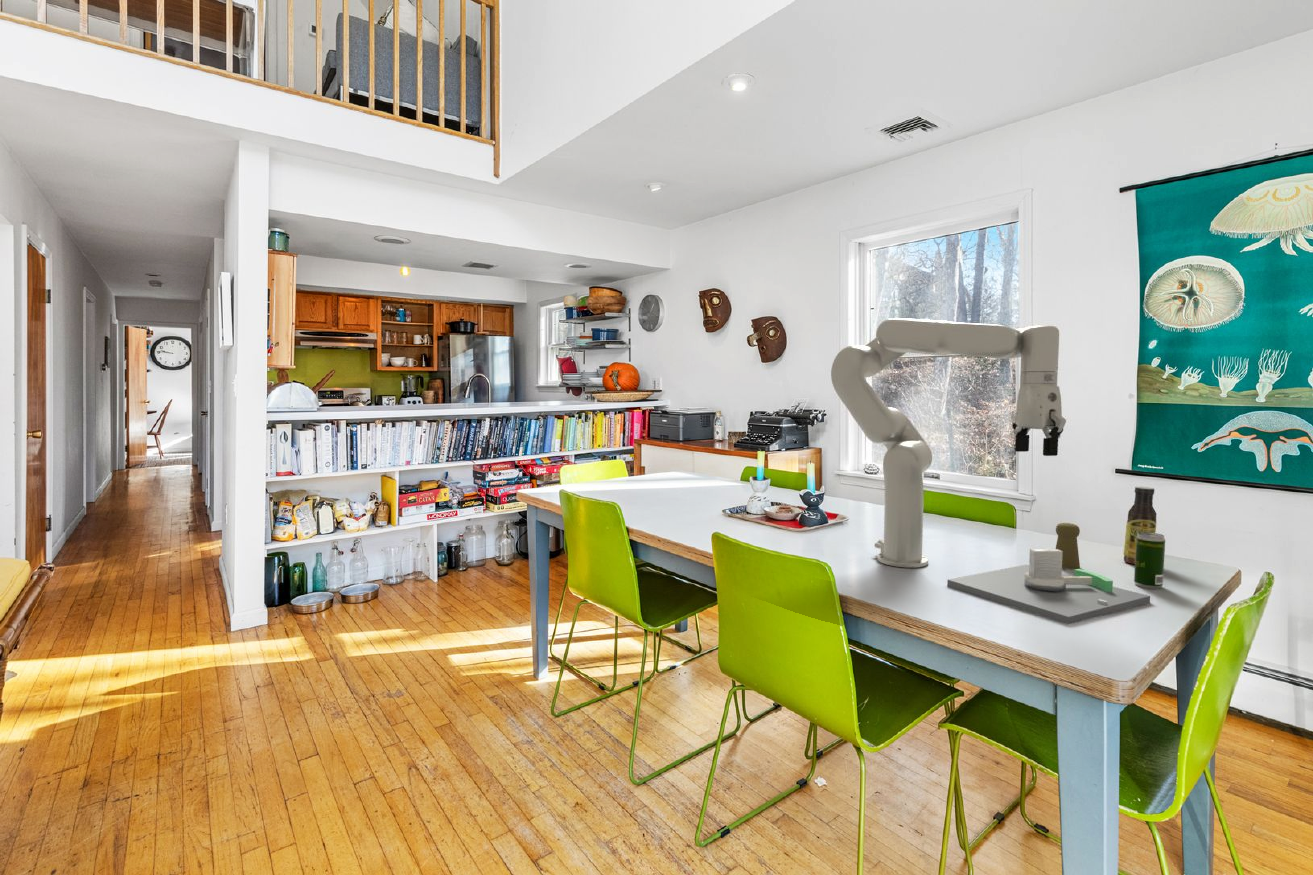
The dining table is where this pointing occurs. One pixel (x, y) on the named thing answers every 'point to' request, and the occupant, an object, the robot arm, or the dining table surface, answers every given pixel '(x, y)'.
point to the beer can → (1149, 560)
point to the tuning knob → (1050, 571)
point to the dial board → (1051, 594)
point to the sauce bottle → (1139, 520)
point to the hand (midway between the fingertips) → (1035, 453)
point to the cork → (1068, 545)
